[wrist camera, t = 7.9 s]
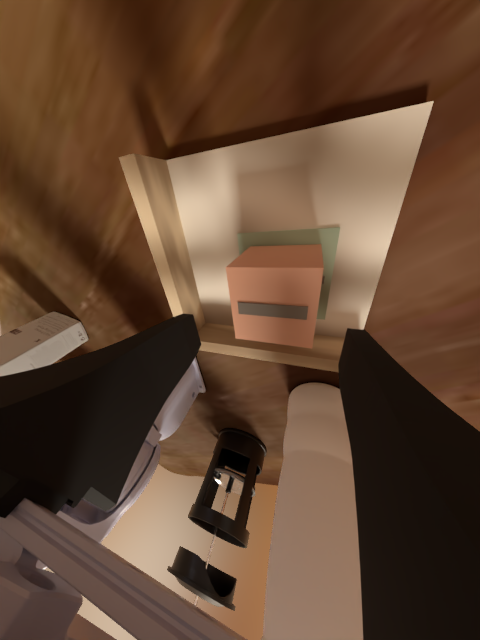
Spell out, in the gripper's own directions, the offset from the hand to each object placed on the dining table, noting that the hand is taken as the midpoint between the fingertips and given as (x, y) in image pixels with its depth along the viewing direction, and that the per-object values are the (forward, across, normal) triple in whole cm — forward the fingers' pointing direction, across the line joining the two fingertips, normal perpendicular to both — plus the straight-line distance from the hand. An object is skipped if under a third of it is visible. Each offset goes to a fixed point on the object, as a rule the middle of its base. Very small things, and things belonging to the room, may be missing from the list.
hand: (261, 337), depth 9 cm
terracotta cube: (+8, 0, 0) cm, 8 cm away
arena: (+9, +1, -1) cm, 9 cm away
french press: (+9, +7, +34) cm, 35 cm away
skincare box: (+9, +35, +9) cm, 38 cm away
